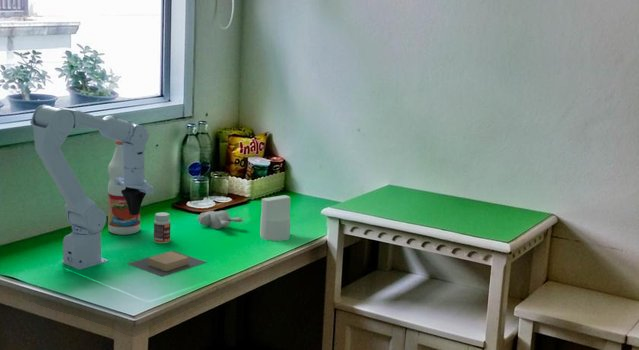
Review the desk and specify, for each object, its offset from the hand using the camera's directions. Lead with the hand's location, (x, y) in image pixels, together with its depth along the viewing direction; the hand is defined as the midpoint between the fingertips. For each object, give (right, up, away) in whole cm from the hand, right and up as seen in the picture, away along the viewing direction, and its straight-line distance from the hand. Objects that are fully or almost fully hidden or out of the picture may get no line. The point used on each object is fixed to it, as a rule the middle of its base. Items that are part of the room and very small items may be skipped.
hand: (134, 214), depth 234 cm
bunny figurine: (+20, -6, +28) cm, 35 cm away
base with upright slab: (+38, -8, +21) cm, 44 cm away
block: (+9, -11, -8) cm, 16 cm away
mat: (+11, -13, -8) cm, 19 cm away
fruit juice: (-7, -6, +20) cm, 22 cm away
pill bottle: (+6, -9, +11) cm, 15 cm away
